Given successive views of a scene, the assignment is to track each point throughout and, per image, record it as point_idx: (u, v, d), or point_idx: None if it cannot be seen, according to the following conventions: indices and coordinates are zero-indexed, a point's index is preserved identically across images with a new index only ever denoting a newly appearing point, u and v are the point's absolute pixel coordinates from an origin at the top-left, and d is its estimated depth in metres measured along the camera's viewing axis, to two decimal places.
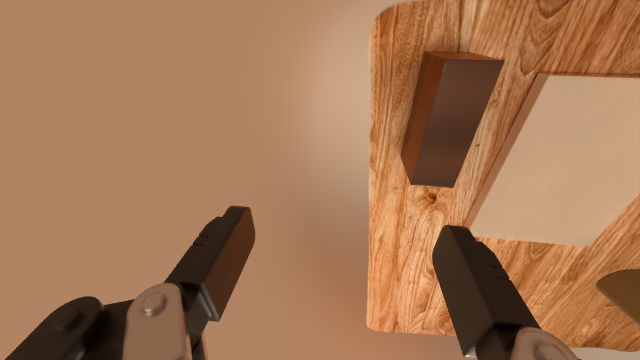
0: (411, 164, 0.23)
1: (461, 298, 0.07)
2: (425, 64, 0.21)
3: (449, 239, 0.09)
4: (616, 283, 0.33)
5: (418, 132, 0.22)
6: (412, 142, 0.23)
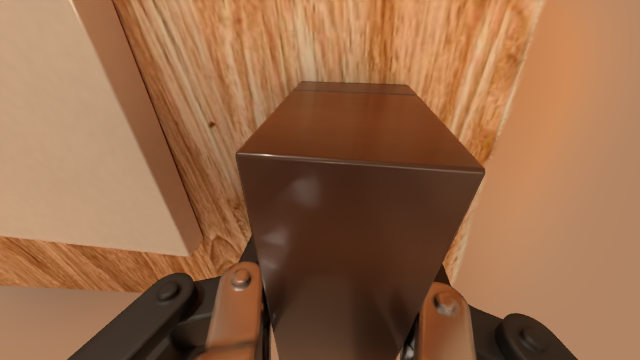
0: None
1: None
2: None
3: None
4: None
5: None
6: None
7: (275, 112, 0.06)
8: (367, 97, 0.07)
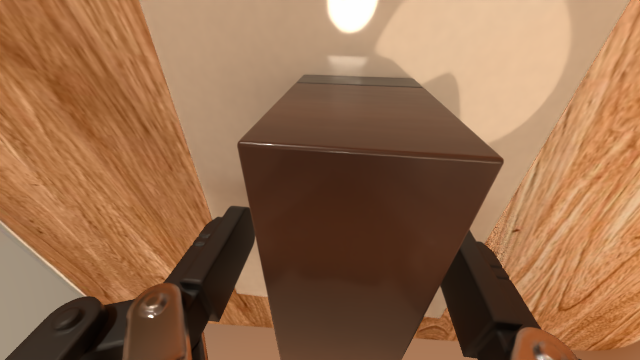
0: None
1: (461, 297, 0.07)
2: None
3: None
4: None
5: None
6: None
7: (278, 103, 0.05)
8: (372, 89, 0.07)
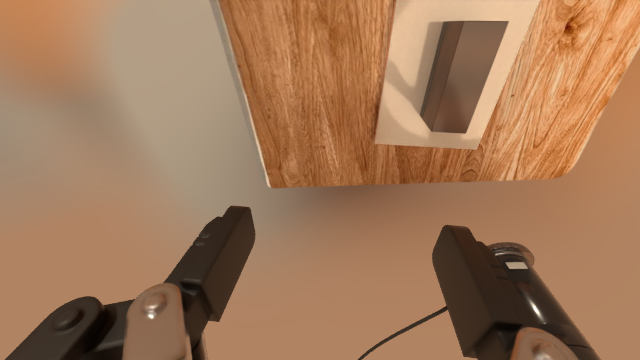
0: None
1: (461, 298, 0.07)
2: None
3: (449, 239, 0.09)
4: None
5: None
6: None
7: None
8: None
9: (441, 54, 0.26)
